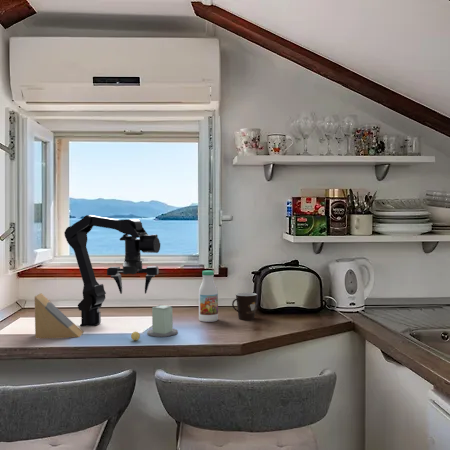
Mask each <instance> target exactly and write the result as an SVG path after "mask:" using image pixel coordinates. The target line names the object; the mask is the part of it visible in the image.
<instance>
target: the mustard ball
mask: <svg viewBox="0 0 450 450" xmlns="http://www.w3.org/2000/svg"><path fill="white" fill-rule="evenodd" d="M130 335H131V336H130V339H131V340H132V341H138V340H139V339H140V338H141V334H140V332H138V331H133V332H132V333H131V334H130Z"/></svg>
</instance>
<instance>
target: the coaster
mask: <svg viewBox="0 0 450 450" xmlns="http://www.w3.org/2000/svg"><path fill="white" fill-rule="evenodd" d="M146 334H147V336H149V337H153V338H165V337H166V338H167V337H172V336H173V337H174V336H176V335H178V334H179V330H178V329H176V328H173V331H171V332H168V333H166V334H162V333H154V332H152V329H149V330H148V331H147V332H146Z"/></svg>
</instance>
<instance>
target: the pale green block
mask: <svg viewBox="0 0 450 450" xmlns="http://www.w3.org/2000/svg"><path fill="white" fill-rule="evenodd" d="M151 310H152V311H151V312H152V313H151V314H152V315H151V318H152V323H151V324H152V325H151V327H152V328H151V330H152V332H154V333H162V334H166V333H168V332H171V331H173V329H174V327H173V305H163V304H159V305H156V306H152V307H151Z"/></svg>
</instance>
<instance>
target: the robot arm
mask: <svg viewBox="0 0 450 450" xmlns="http://www.w3.org/2000/svg"><path fill="white" fill-rule="evenodd" d="M94 227H100V228H104V229H110V230H111V229H112V230H115V231H118V232H119V233H122V234H123V235H122V236H121V237H120V238H119V241H124V261H123V263H122V268H121V267H120V266H109V267H108V268H107V270H106V276H110V278H111V279H113V280H114V281H115V283H116V285H117V287H118V291H119V293H120V294H121V295H122V294H123V281H122V274H123V275H128V274H129V275H130V274H131V275H136V274H146V275H145V284H144V294H147V292H148V289H149V285H150V283H151V281H152V279H153V278H154V277H155V276H158V275H159V273H160V271H159V267H158V266H157V265H150V266H149V265H148V266H147V267H143V262H142V260H141V259H142V258H141V253H144V254H146V253H147V254H149V253H151V254H158V253H159V252H160V250H161V241H160V239H159V235H158V234H148V233H147V231H146V229H145V228H144V227H143V223H142V222H141V220H140V219H137V218H133V219H116V218H111V217H103V216H99V215H95V214H89V215H87V214H86V215H84V216H83V217H82V218H81V219H79V220H78V221H77V222H75V223H72V225H70V226H68V227H66V229H65V231H64V238H65V239H66V242H67V244H68V245H69V246H70V247H71V248H72V250H73V251H74V256H75V259H76V262H77V265H78V269H79V272H80V277H81V279H82V282H83V288H82V299H81V301H80V302H79V303H78V304H77V308H78V311H80V314H81V316H80V317H81V318H80V319H81V321H80V322H81V323H80V327H96V326H99V324H100V323H101V322H102V321H101V320H102V319H101V316H102V315H101V311H100V308H102V304H103V303H104V302H105V299H106V295H107V292H106V291H105V287H104V286H105V285H104V284H103V283H100V284H99V282H98V281H97V280H96V279H97V278H96V275H95V271H94V269H93V264H92V261H91V259H90V255H89V251H88V248H87V243H88V233H89V232H91V230H93V228H94Z"/></svg>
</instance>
